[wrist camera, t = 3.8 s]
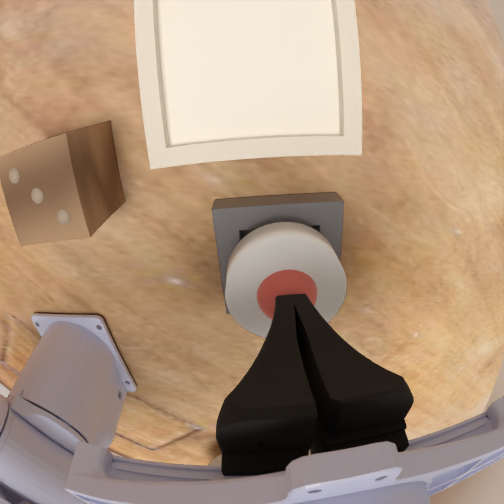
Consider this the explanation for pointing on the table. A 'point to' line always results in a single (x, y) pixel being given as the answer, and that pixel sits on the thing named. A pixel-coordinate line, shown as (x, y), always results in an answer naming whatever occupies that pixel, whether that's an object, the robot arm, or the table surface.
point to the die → (62, 185)
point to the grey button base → (274, 219)
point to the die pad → (248, 79)
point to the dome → (282, 274)
